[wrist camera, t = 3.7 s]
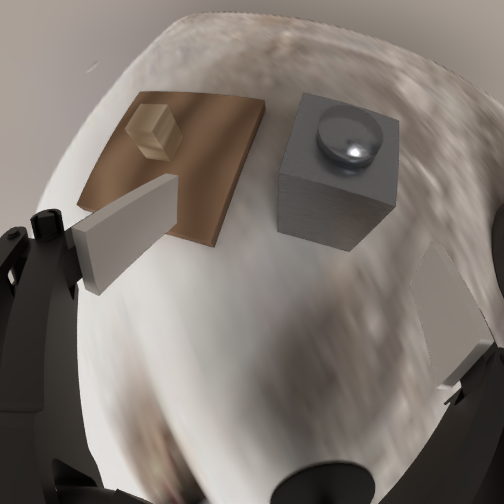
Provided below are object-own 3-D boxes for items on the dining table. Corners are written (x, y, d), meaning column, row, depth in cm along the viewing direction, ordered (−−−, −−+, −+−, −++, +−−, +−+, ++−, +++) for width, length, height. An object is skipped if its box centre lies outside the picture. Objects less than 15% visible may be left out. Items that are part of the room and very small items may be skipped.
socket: (360, 187, 24) (405, 109, 13) (349, 251, 22) (404, 197, 12) (295, 169, 25) (304, 79, 14) (277, 231, 23) (279, 160, 12)
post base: (265, 109, 27) (262, 64, 20) (214, 247, 23) (193, 221, 17) (144, 99, 29) (124, 64, 23) (84, 209, 26) (47, 185, 19)
